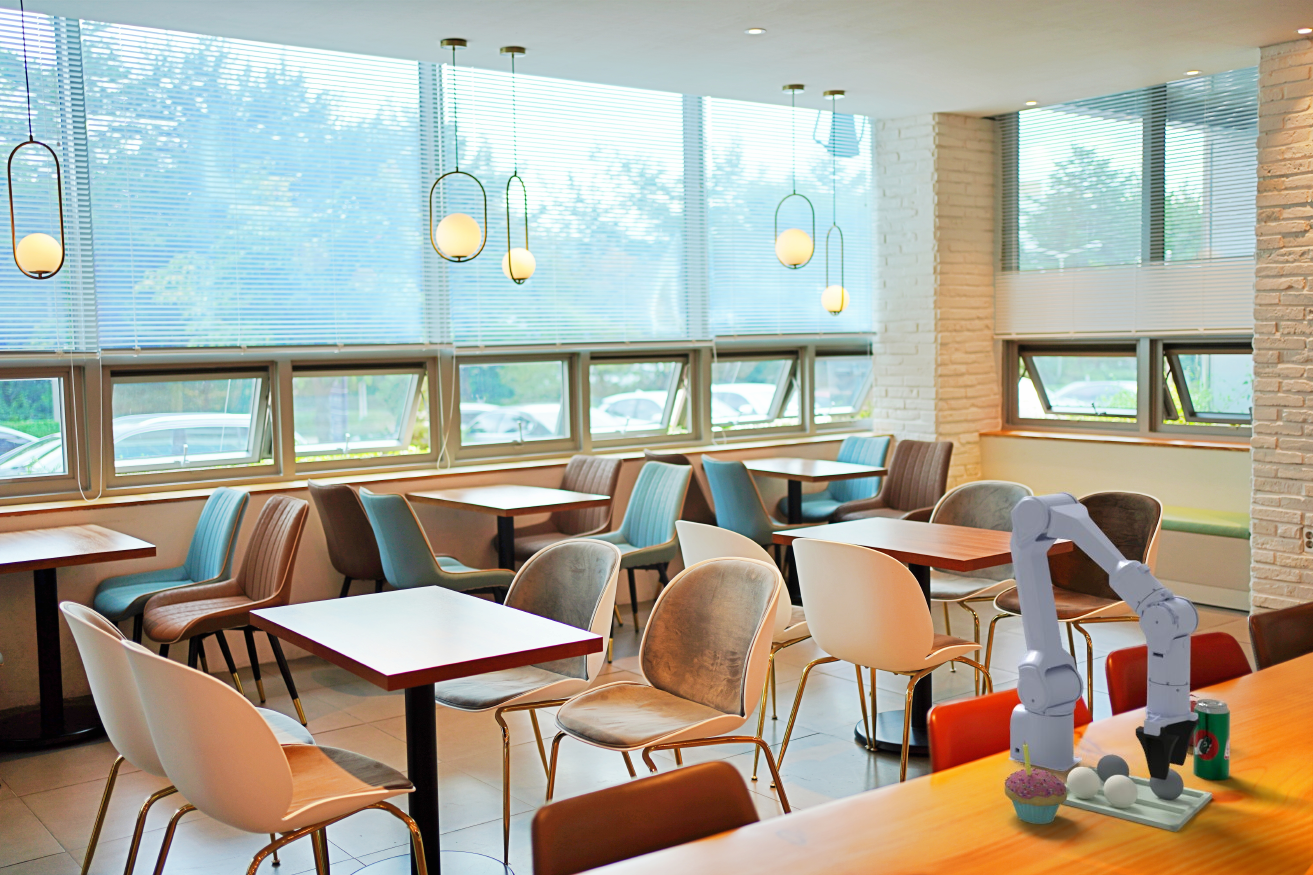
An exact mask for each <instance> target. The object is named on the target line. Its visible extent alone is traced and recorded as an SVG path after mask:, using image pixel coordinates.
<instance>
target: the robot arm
mask: <svg viewBox="0 0 1313 875" xmlns="http://www.w3.org/2000/svg"><path fill="white" fill-rule="evenodd" d="M1010 518H1011V523H1012V530H1011V536H1010V542H1009V547H1010V553H1011V559H1012V565H1013V573H1014V578H1015V583H1016V584H1015V585H1016V591H1017V596H1018V601H1019V602H1018V603H1019V608H1020V614H1021V621H1022V626H1023V632H1024V638H1025V644H1026V649H1027V650H1026V652H1025V653H1026V654H1025V655H1024V656H1023V657H1022V659H1021V660H1020V662H1019V663H1018V665H1017V668H1018V681H1017V685H1016V691H1017V695H1018V698H1019V700H1020V702H1021V703H1018V704H1017V705H1016V706H1015V707H1014V708H1013V710H1012V714H1011V717H1010V725H1009V730H1010V735H1009V736H1010V740H1009V741H1010V742H1009V743H1010V749H1009V750H1010V752H1009V753H1010V754H1009V757H1008V758H1007V759H1008V760H1010V761H1015V762H1019V763H1024V764H1025V757H1024V748H1023V745H1024V740H1025V742H1026V745H1028V750H1029V758H1030V765H1032V766H1037V767H1041V768H1046V769H1050V770H1054V771H1059V772H1066V771H1068V770H1070V769H1071V768H1072V767H1074V766H1075V765H1077V764H1078V763H1080V762H1081V761H1082V760H1083V759H1084V758H1082V757H1080V756H1075V755H1074V754H1075V753H1074V750H1075V749H1074V748H1075V747H1074V744H1075V743H1074V741H1075V740H1074V738H1075V736H1074V735H1075V734H1074V733H1075V732H1074V730H1075V728H1074V726H1075V724H1074V722H1075V721H1074V720H1075V719H1074V718H1075V716H1074V713H1075V712H1074V711H1075V709H1076V707H1077V706H1076V705H1077V704H1076V702H1078V701H1079V699H1081V697H1082V696H1083V694H1084V681H1083V678H1082V676H1081V674H1080V673H1079V671H1078V668H1077V666H1076V663H1075V658H1074V657H1073V656H1072V655H1071V654H1070V653H1069V652H1068V651H1067V650H1066V649H1065V648H1063V643H1062V636H1061V630H1060V626H1059V618H1058V615H1057V614H1058V613H1057V607H1056V602H1055V594H1054V589H1053V584H1052V578H1051V571H1050V566H1049V561H1048V560H1049V559H1048V555H1047V553H1048V551H1049V550H1050V549H1051V548H1052V546H1053V545H1054V544H1055V542H1057V540H1058V539H1059V540H1067V541H1072V542H1073V543H1074V544H1075V545H1076V546H1077V547H1079V548H1080V549H1081V551H1083V552H1084V553H1085V554H1086V555H1088V557H1089V558H1091V559H1092V560H1093V561H1094V562H1095V563H1096V564H1097V565H1098V566H1099V567H1100V568H1102V570H1103V571H1105V572H1106V573H1107V574H1108V579H1109V580H1108V586H1110V588H1111V589H1112V590H1113V591H1114V592H1115V594H1117V595H1118V596H1119V598H1121V599H1122V600H1123V602H1124V603H1125V604H1126V605H1127V606H1128V607H1129V608H1130V609H1131V610H1132V611H1133V612H1134V613H1135V614H1136V615H1137V616H1138V617H1139V618H1138V622H1139V626H1140V629H1141V632H1142V633H1143V634H1144V636H1145V639H1146V642H1145V643H1146V644H1145V645H1146V647H1147V681H1146V682H1147V683H1146V684H1147V690H1146V692H1147V694H1146V696H1147V697H1146V706H1145V719H1144V720H1143V726H1141V725H1139V726H1138V727H1136V728H1135V736H1136V738H1137V740H1138V741H1139V743H1140V746H1141V748H1142V750H1143V752H1144V756H1145V760H1146V764H1147V770H1148V773H1149V776H1150V777H1152V778H1157V779H1161V780H1166V779H1167V776H1168V772H1169V768H1170V766H1171V764H1172V765H1177V766H1181V767H1182V766H1184V764H1185V762H1186V759H1187V755H1188V754H1187V753H1188V750H1189V743H1190V740H1191V737H1192V735H1193V732H1194V730H1195V728H1196V727H1197V725H1198V724H1199V718H1198V714H1197V713H1193V712H1191V698H1190V697H1191V696H1190V694H1191V690H1190V689H1191V685H1190V684H1191V643H1192V642H1191V635H1192V634H1193V633H1194V632H1196V630H1197V628H1199V622H1200V617H1199V616H1200V615H1199V613H1198V610H1197V608H1196V606H1194V604H1193V603H1192V601H1191V599H1189V598H1187V597H1184V596H1181V595H1180V596H1179V595H1176V594H1174V592H1173V591H1172V590H1171V589H1170V588H1166V586H1165V585H1164V584H1162V582H1161V581H1160V580H1158V579H1157V578H1156V577H1155V576H1154V574H1152V573H1151V571H1152V569H1151V567H1150V566H1149V565H1148V564H1147V563H1141V561H1138V560H1129V559H1126V557H1125V556H1124V555H1123V554H1122V553H1121V551H1120V550H1119V549H1118V548H1117V547H1116V546H1115V544H1113V543H1112V542H1111V540H1110V539H1109V538H1108V537H1107V535H1105V533H1104V532H1103V531H1102V530H1101V529H1100V527H1098V525H1097V524H1096V523H1095V522H1094V521H1093V519H1092V518H1091V517H1090V515H1089V511H1088V508H1087V507H1086V506H1085V505H1084V504H1082V503H1080V501H1079V500H1078V498H1077V497H1076V496H1075V495H1074V494H1072V493H1070V492H1067V491H1061V492H1057V493H1052V494H1051V493H1050V494H1043V495H1042V494H1041V495H1027V496H1024V497H1022V498H1021V499H1020V500H1019V501H1018V502H1017V503H1016V505H1014V507H1013V508H1012V509H1011V511H1010Z"/></svg>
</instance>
